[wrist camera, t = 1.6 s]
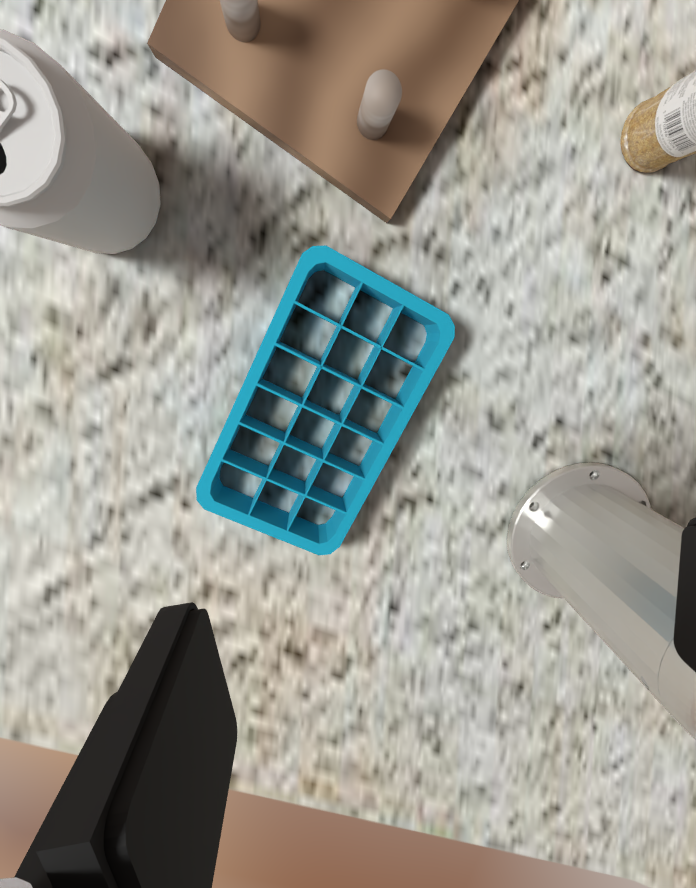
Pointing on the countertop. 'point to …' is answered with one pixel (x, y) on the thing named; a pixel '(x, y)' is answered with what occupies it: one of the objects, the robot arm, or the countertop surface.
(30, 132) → the can
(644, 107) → the sprinkles bottle
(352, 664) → the countertop surface
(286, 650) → the countertop surface
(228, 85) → the peg board
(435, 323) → the ice cube tray
